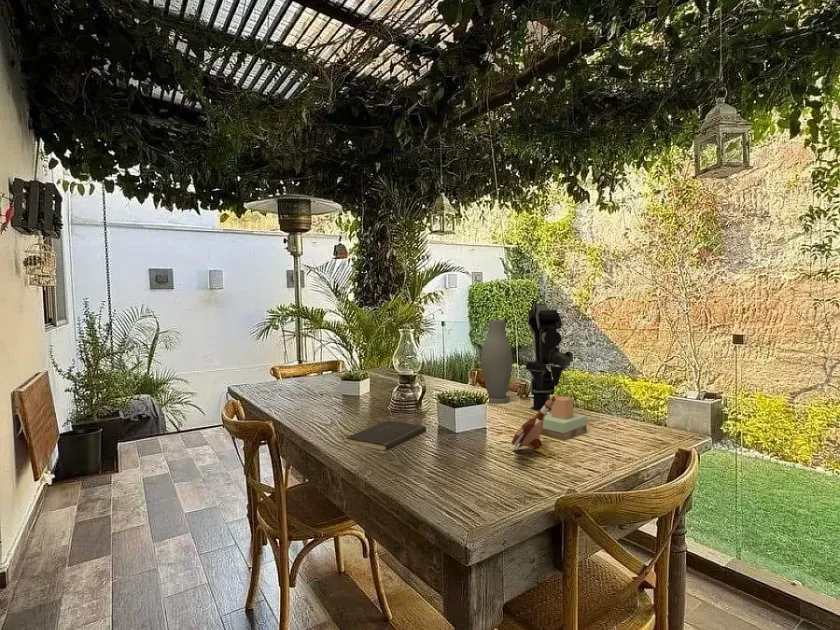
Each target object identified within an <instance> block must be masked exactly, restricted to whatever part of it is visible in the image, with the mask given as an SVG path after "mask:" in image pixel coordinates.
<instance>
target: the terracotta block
mask: <svg viewBox="0 0 840 630" xmlns="http://www.w3.org/2000/svg"><path fill="white" fill-rule="evenodd" d="M556 397H557V398H556ZM556 397H555V398H556V399H555V398H554V399H555V401H554V405H553V406H552V407H551V409H550V410H551V413H552V417H555V418H561V419H568V418H570V417H573V414H574V398H572V397H568V396H567V397H566V396H561V395H559V396H556Z"/></svg>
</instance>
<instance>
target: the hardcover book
mask: <svg viewBox="0 0 840 630" xmlns="http://www.w3.org/2000/svg"><path fill="white" fill-rule="evenodd" d="M426 432H427V427H426V426H425V425H419V424H413V423H407V422H401V421H393V420H387V421H384V422H380V423H378V424H376V425H373V426H371V427H369V428H366V429H363V430H361V431H358V432H356V433H353V434H351V435H349V436H346V437H344V438H345V442H346V444H351V445H354V446H355V445H356V446H361V447H366V448H371V449H376V450H380V451H381V450H382V451H386V452H387V451H389V450H390V449H394V448H395V447H397V446H399V445H401V444H404V443H406V442H408V441H409V440H411V439H413V438H415V437H417V436H419V435H422V434H424V433H426Z"/></svg>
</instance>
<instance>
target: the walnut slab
mask: <svg viewBox="0 0 840 630" xmlns="http://www.w3.org/2000/svg"><path fill="white" fill-rule="evenodd" d="M587 430H588V428H587V425H586V426H583V427H580V428H577V429H574V430H571V431H568V432H565V433H561V432H557V431H553V430H549V429H544V428H542V431H541V434H540V436H543V437H547V438H552V439H556V440H560V441H568V440H569V439H573V438H575V437H579V436H580V435H584V434H587V433H588V432H587Z"/></svg>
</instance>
